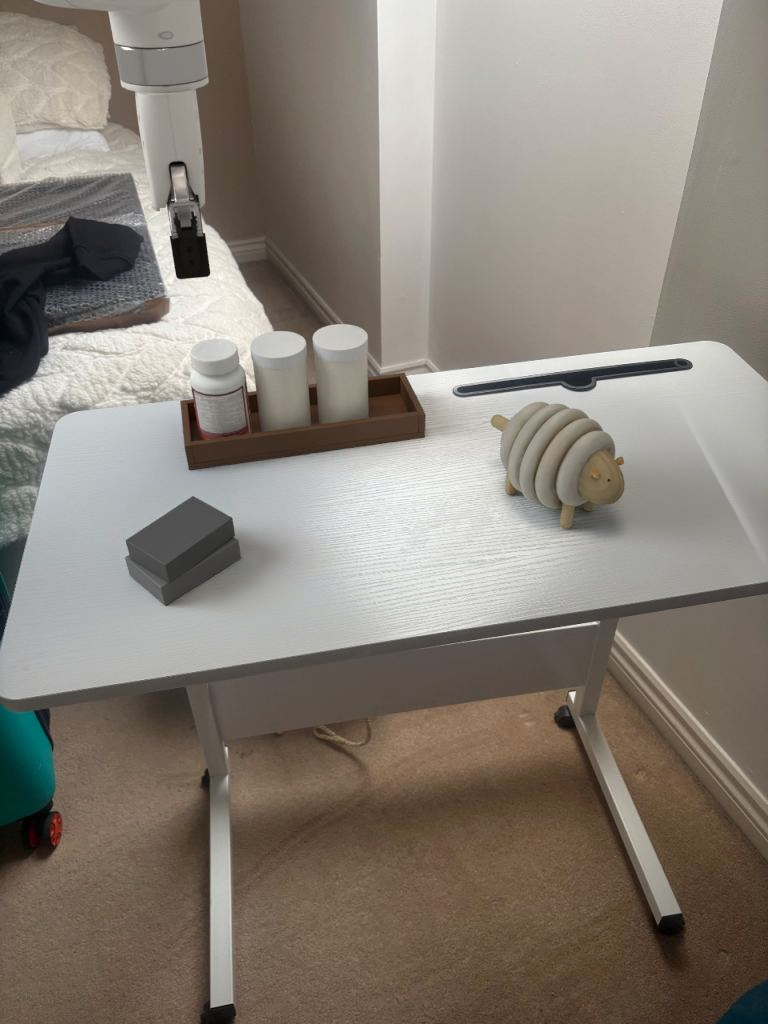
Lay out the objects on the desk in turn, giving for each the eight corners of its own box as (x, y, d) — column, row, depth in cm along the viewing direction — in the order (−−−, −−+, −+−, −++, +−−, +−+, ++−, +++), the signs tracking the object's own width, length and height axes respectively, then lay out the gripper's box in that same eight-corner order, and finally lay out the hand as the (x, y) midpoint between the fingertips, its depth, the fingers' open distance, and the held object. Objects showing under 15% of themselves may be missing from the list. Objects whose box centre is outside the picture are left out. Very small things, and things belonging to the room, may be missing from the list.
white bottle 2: (330, 438, 97) (325, 354, 90) (310, 413, 101) (304, 330, 94) (378, 425, 99) (377, 342, 92) (356, 400, 103) (353, 319, 96)
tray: (188, 470, 93) (184, 446, 91) (184, 423, 101) (180, 400, 99) (424, 437, 98) (425, 413, 96) (404, 395, 106) (404, 372, 104)
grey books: (166, 607, 77) (157, 569, 74) (128, 574, 80) (117, 537, 77) (243, 558, 82) (238, 521, 79) (204, 529, 86) (197, 492, 83)
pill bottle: (215, 417, 100) (202, 332, 93) (261, 426, 99) (251, 340, 92) (190, 444, 96) (174, 357, 89) (238, 454, 94) (225, 366, 87)
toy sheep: (584, 559, 82) (603, 469, 75) (454, 487, 91) (459, 400, 84) (640, 510, 88) (662, 422, 81) (512, 446, 97) (522, 362, 90)
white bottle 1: (270, 447, 96) (261, 362, 88) (252, 420, 100) (242, 338, 93) (320, 433, 98) (314, 349, 91) (300, 408, 102) (293, 326, 95)
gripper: (119, 48, 78) (150, 230, 88) (116, 89, 64) (153, 297, 75) (200, 45, 79) (221, 224, 90) (214, 84, 66) (237, 289, 76)
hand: (190, 257), depth 82 cm, fingers open, 9 cm apart
